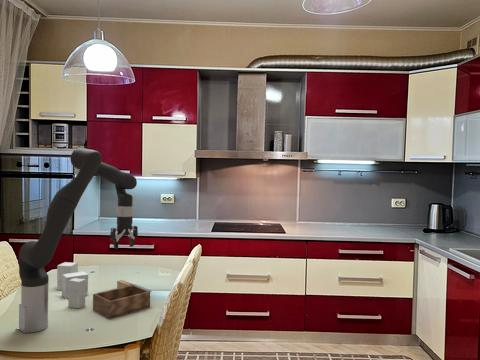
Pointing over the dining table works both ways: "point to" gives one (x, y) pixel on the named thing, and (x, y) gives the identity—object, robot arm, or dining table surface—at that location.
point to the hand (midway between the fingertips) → (123, 247)
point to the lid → (124, 283)
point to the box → (121, 301)
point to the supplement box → (65, 272)
